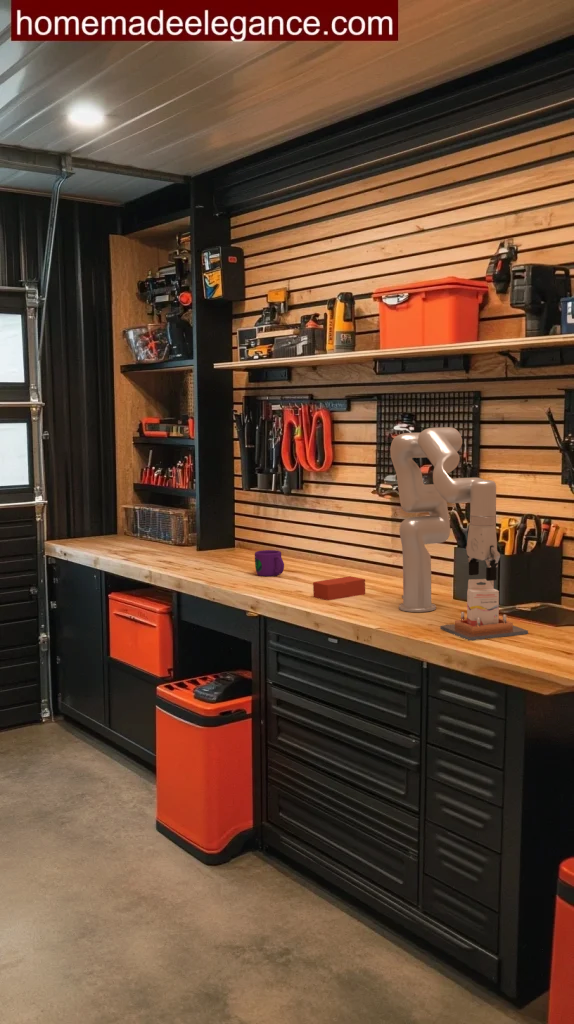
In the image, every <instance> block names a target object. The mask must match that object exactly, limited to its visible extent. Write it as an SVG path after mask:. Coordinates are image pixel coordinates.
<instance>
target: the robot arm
mask: <svg viewBox="0 0 574 1024" xmlns="http://www.w3.org/2000/svg"><path fill="white" fill-rule="evenodd" d="M462 446H463V438H462V435H461V433H460V431H458V429H456V428H454V427H447V426H446V427H444V426H443V427H429V428H424V429H423V430H422V431H421V432H405V433H401V434H397V435H396V436H395V437H394V438H393V439H392V441H391V445H390V459H391V461H392V465H393V468H394V470H395V475H396V480H397V487H398V488H397V489H398V495H399V502H400V506H401V510H402V511H403V512H404V513H408V514H419V513H428V514H429V515H423V516H412V517H411V516H410V517H407V518H405V519H403V520H402V521H401V523H400V525H399V530H398V531H399V537H400V542H401V549H402V551H401V553H402V591H403V592H402V595H401V599H402V600H403V601H402V603H400V604H399V605H398V609H399V610H400V611H402V612H403V611H404V612H408V613H409V612H410V613H411V612H412V613H425V612H426V613H427V612H431V611H435V610H436V609H437V605H436V604H435V603H432V558H431V554H430V553H429V550H428V549H427V548H426V546H425V545H429V544H440V543H441V544H442V543H445V542H447V541H448V539H449V537H450V535H451V525H450V518H449V517H450V516H449V510H448V509H449V507H448V503H449V504H461V503H463V504H464V503H469V504H470V505H469V507H470V508H469V509H470V511H469V514H470V515H469V521H470V522H469V523H470V524H469V526H468V533H467V539H466V541H467V542H466V546H465V550H466V556H467V562H468V575H469V576H476V575H477V576H478V575H479V574H480V571H479V570H480V568H479V567H480V566H479V565H480V563H479V561H485V563H486V569H485V573H486V574H485V579H486V580H487V581H493V580H494V581H496V580H497V568H498V567H499V566H498V565H499V562H500V558H501V553H500V552H499V551H498V540H497V531H496V529H497V528H496V526H497V525H496V524H497V522H496V521H497V515H496V514H497V484H496V482H495V481H494V480H490V479H483V478H481V477H458V478H457V477H456V478H452V477H450V475H449V474H450V473H451V472H452V471H455V469H456V468H457V467H458V465H459V463H460V460H461V458H460V454H459V453H458V452H459V451H460V450H461V447H462ZM413 458H414V459H415V458H416V459H417V458H418V459H419V458H420V459H421V458H427V460H428V461H429V462H430V463H431V464H432V466H433V471H432V482H433V484H432V483H431V484H430V483H429V484H428V483H427V484H425V483H424V481H423V474H422V470H421V468H420V467H419V465H418V463H416V462H415V460H414V459H413ZM478 560H479V561H478Z"/></svg>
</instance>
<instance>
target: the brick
mask: <svg viewBox="0 0 574 1024" xmlns="http://www.w3.org/2000/svg"><path fill="white" fill-rule="evenodd" d="M312 586H313V588H312V590H313V598H316V599H319V598H320V599H321V600H324V601H333V600H339V599H346V598H352V597H357V596H363V595H366V579H365V578H359V577H355V576H344V577H338V578H332V579H331V578H330V579H325V580H317V581H313V582H312Z"/></svg>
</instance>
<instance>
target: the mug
mask: <svg viewBox="0 0 574 1024" xmlns="http://www.w3.org/2000/svg"><path fill="white" fill-rule="evenodd" d="M254 566H255V573H256V575H258V576H259V577H277V576H279V575H281V574H283V572H284V571H285V570H284V569H285V563H284V560H283V558H282V551H280V550H277V549H276V550H275V549H268V550H266V549H264V550H259V551H255V552H254Z"/></svg>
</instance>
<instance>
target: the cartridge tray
mask: <svg viewBox="0 0 574 1024" xmlns="http://www.w3.org/2000/svg"><path fill="white" fill-rule="evenodd" d="M513 623H514V622H512V621H509V620H507V614H502V618H500V617H499V623H497V624H488V625H480V617H477V626H471V625H469V624H467V618H466V619H465V611H461V612H460V619H457V620H454V624H453V623H452V624H445V625H440V626H439V628H440V630H442V631H444V632H447V633H450V634H452V635H454V634H455V635H454V636H457V637H459V636H460V637H459V638H462V639H464V638H465V639H464V640H466V639H468V640H467V641H469V640H472V641H477V640H476V639H480V640H487V639H488V638H489V639H495V638H496V639H497V638H504V637H505V638H506V637H512V636H513V637H514V636H520V635H521V636H523V635H528V634H529V630H527V629H525V628H522V627H519V626H516V625H513ZM485 638H487V639H485ZM489 639H488V640H489Z"/></svg>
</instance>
